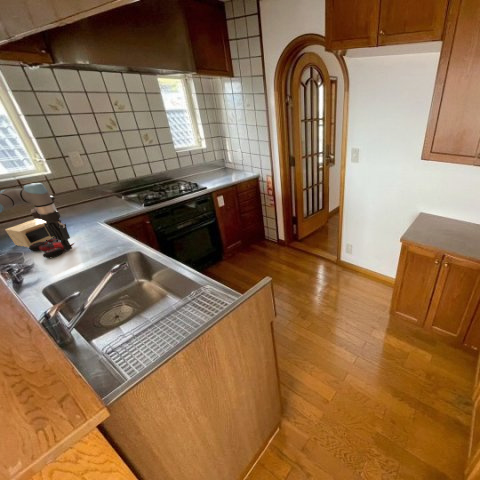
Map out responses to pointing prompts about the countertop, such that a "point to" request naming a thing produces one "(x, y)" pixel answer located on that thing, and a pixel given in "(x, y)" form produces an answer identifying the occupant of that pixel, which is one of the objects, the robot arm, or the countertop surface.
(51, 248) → the toy motorcycle
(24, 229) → the mini oven
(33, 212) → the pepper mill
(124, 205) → the countertop surface
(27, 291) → the countertop surface
